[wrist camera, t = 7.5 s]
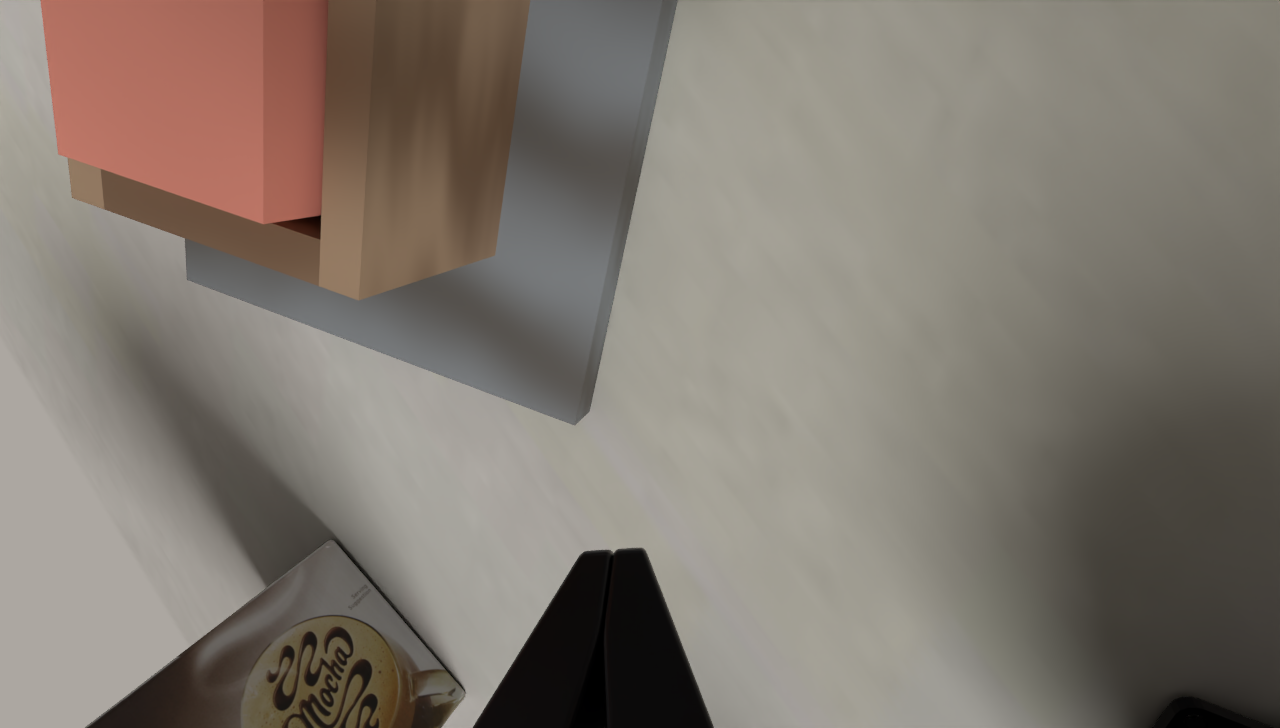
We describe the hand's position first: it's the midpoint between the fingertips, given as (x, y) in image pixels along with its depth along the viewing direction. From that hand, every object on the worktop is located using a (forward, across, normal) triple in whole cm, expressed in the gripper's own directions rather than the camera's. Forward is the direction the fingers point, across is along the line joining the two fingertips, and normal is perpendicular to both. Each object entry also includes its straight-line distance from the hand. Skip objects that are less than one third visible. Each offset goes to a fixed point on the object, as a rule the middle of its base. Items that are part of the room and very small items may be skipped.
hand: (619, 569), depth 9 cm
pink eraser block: (+14, +8, -5) cm, 17 cm away
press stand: (+16, +7, -4) cm, 18 cm away
